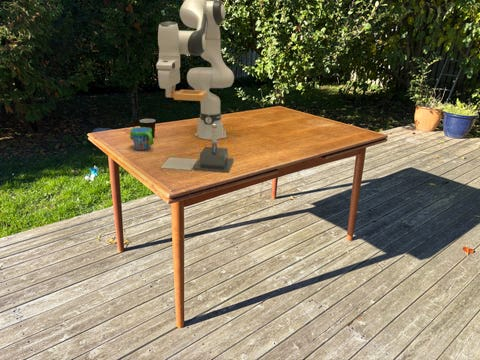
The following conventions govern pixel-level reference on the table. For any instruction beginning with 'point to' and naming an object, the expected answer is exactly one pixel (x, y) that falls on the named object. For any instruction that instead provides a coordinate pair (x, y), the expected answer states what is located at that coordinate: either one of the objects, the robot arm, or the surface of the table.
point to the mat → (179, 164)
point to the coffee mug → (148, 125)
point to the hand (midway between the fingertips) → (170, 96)
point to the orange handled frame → (189, 95)
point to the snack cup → (142, 138)
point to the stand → (214, 156)
